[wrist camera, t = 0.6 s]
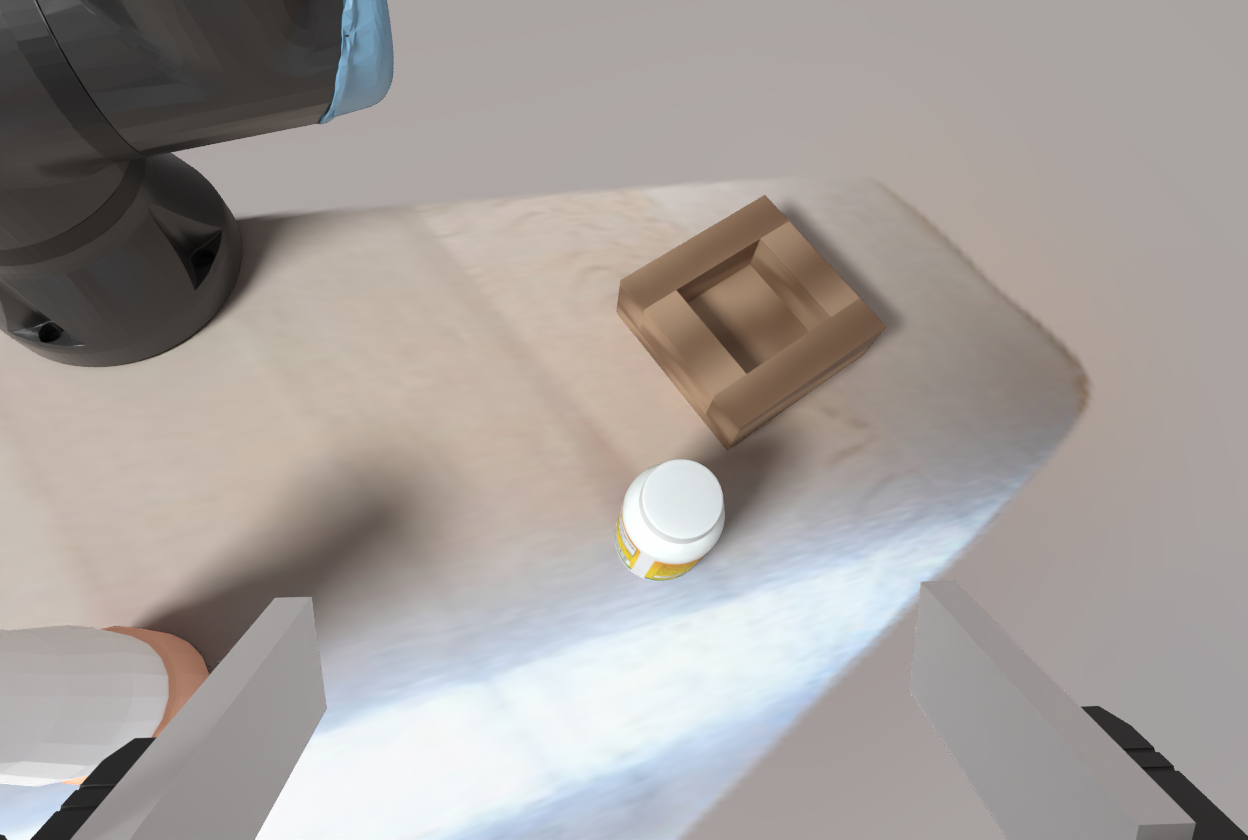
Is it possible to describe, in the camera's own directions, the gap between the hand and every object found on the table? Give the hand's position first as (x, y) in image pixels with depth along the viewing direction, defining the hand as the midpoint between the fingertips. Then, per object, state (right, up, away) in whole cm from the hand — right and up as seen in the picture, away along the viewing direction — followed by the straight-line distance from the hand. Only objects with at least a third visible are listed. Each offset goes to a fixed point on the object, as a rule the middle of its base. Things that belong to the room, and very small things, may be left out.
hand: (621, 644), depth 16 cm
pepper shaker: (-26, -10, +23) cm, 36 cm away
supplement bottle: (+2, -2, +28) cm, 29 cm away
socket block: (+8, +11, +34) cm, 36 cm away
